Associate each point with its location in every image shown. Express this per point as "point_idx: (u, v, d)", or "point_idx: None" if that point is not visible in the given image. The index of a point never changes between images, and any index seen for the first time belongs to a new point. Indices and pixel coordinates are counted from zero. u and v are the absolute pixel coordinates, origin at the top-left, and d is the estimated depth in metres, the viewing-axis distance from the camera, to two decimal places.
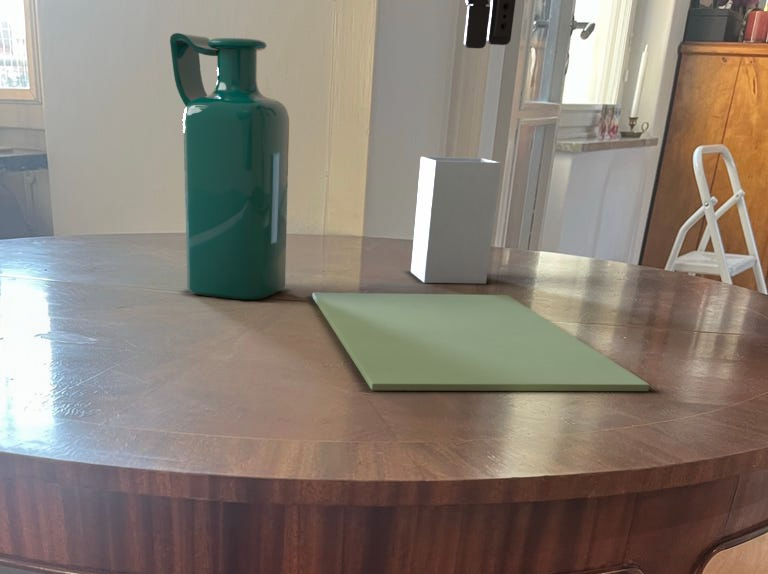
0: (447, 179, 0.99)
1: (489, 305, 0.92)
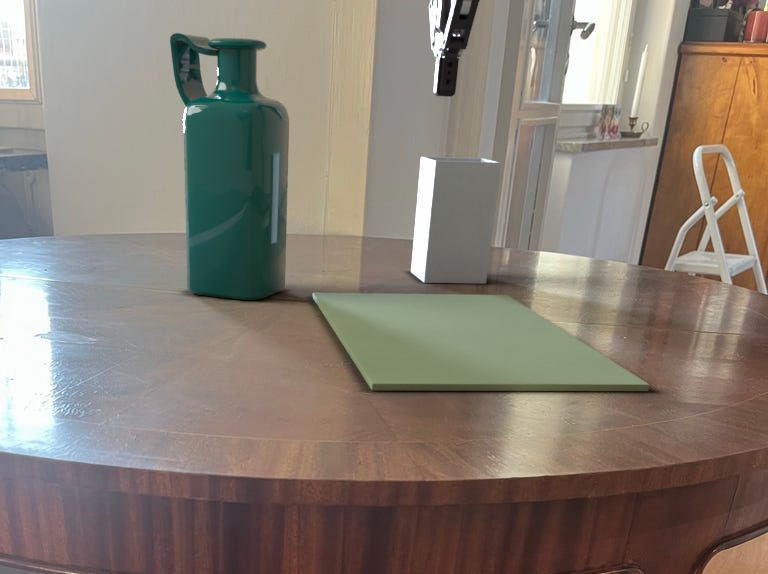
0: (447, 179, 0.99)
1: (489, 305, 0.92)
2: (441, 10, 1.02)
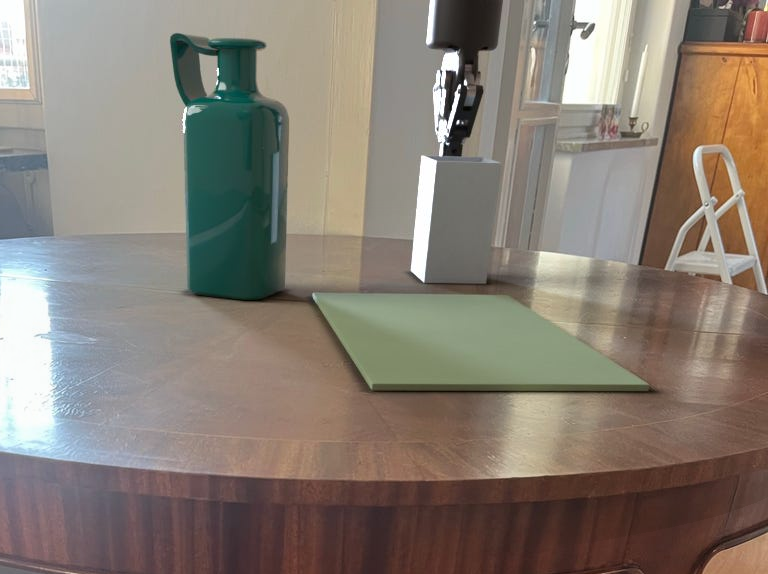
0: (448, 180, 0.99)
1: (489, 305, 0.92)
2: (445, 99, 1.02)
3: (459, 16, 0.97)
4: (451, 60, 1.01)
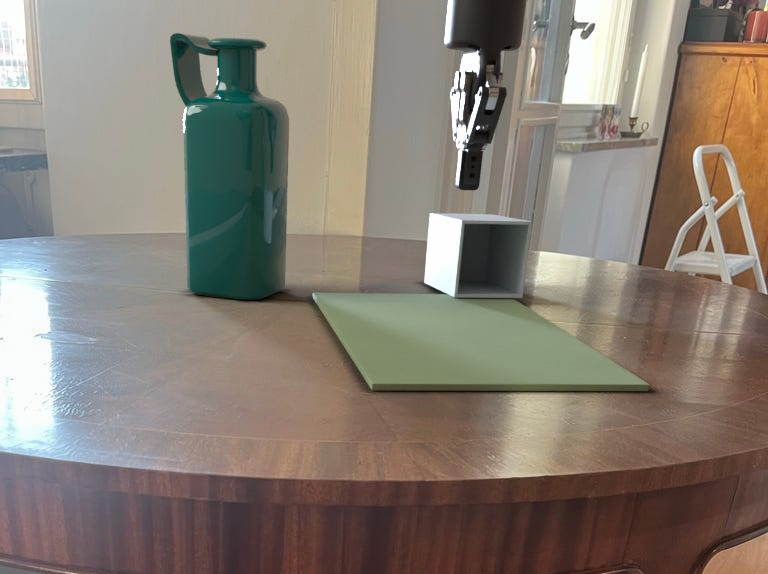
0: None
1: (489, 305, 0.92)
2: (464, 103, 0.95)
3: (481, 13, 0.90)
4: (471, 61, 0.94)
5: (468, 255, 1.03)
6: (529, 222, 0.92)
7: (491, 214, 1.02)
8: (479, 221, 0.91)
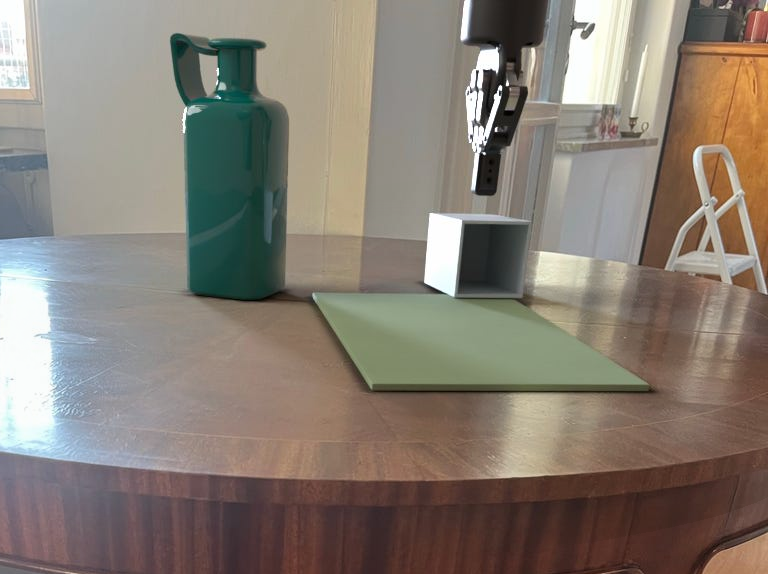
0: None
1: (489, 305, 0.92)
2: (482, 103, 0.89)
3: (501, 6, 0.84)
4: (489, 58, 0.88)
5: (468, 255, 1.03)
6: (529, 222, 0.92)
7: (491, 214, 1.02)
8: (479, 221, 0.91)
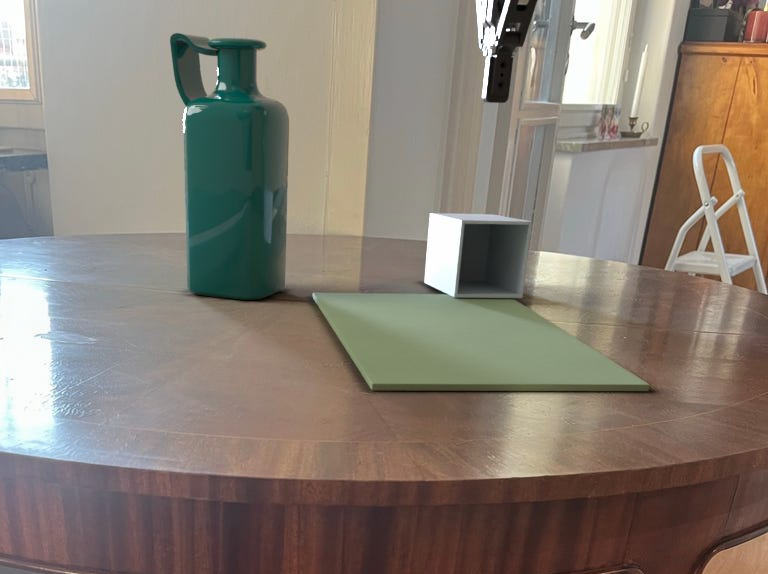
0: None
1: (489, 305, 0.92)
2: (493, 0, 0.85)
3: None
4: None
5: (468, 255, 1.03)
6: (529, 222, 0.92)
7: (491, 214, 1.02)
8: (479, 221, 0.91)
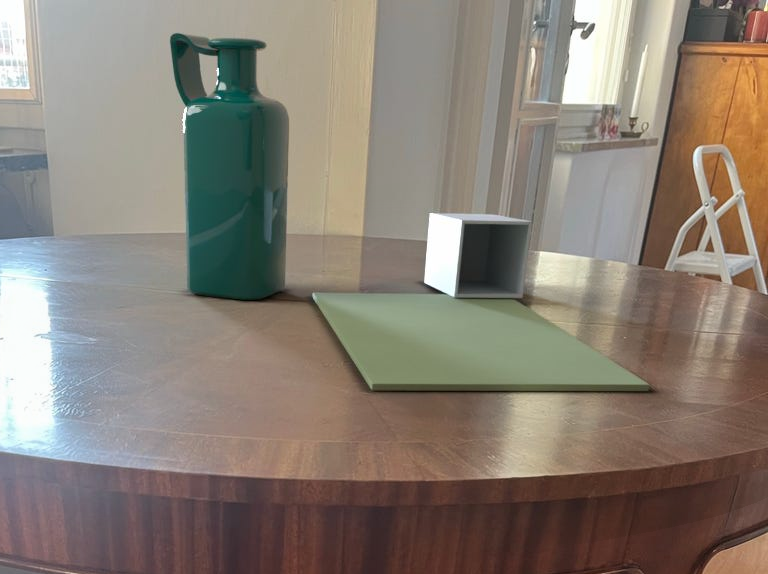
0: None
1: (489, 305, 0.92)
2: None
3: None
4: None
5: (468, 255, 1.03)
6: (529, 222, 0.92)
7: (491, 214, 1.02)
8: (479, 221, 0.91)
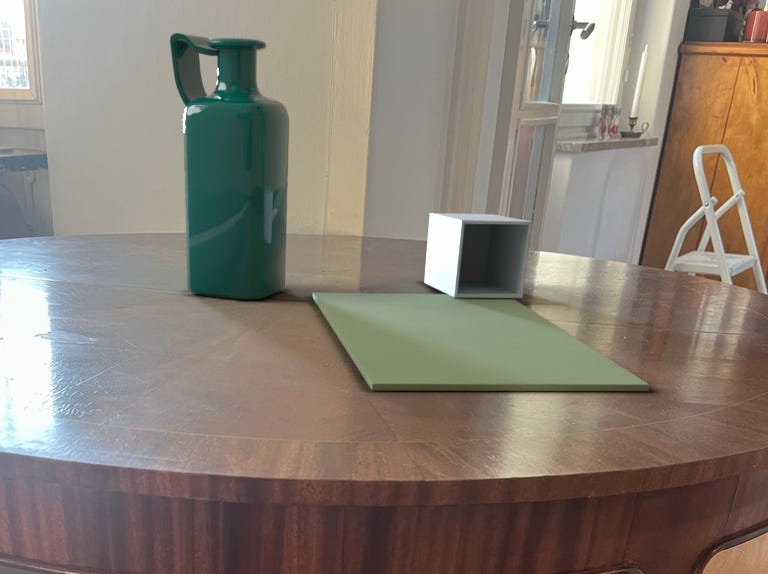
0: None
1: (489, 305, 0.92)
2: None
3: None
4: None
5: (468, 255, 1.03)
6: (529, 222, 0.92)
7: (491, 214, 1.02)
8: (479, 221, 0.91)
